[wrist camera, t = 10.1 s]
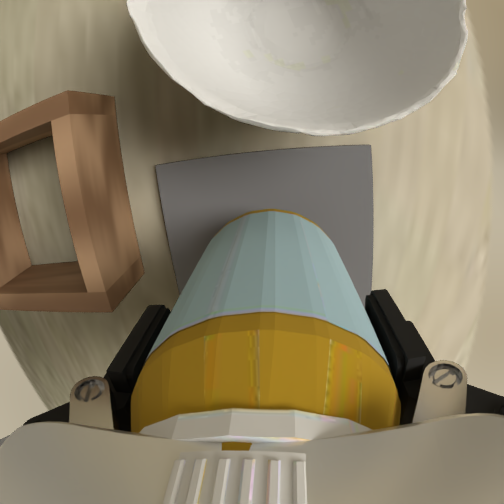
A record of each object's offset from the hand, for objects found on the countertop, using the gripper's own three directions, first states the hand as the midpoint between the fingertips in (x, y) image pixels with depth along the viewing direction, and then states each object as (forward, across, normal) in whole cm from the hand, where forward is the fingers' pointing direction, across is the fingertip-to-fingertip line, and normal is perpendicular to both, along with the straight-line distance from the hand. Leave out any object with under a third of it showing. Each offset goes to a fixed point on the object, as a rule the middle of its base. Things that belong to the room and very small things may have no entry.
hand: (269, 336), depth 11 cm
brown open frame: (+8, +14, -5) cm, 17 cm away
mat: (+8, 0, 0) cm, 8 cm away
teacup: (+9, -4, -13) cm, 16 cm away
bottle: (+6, 0, 0) cm, 6 cm away
